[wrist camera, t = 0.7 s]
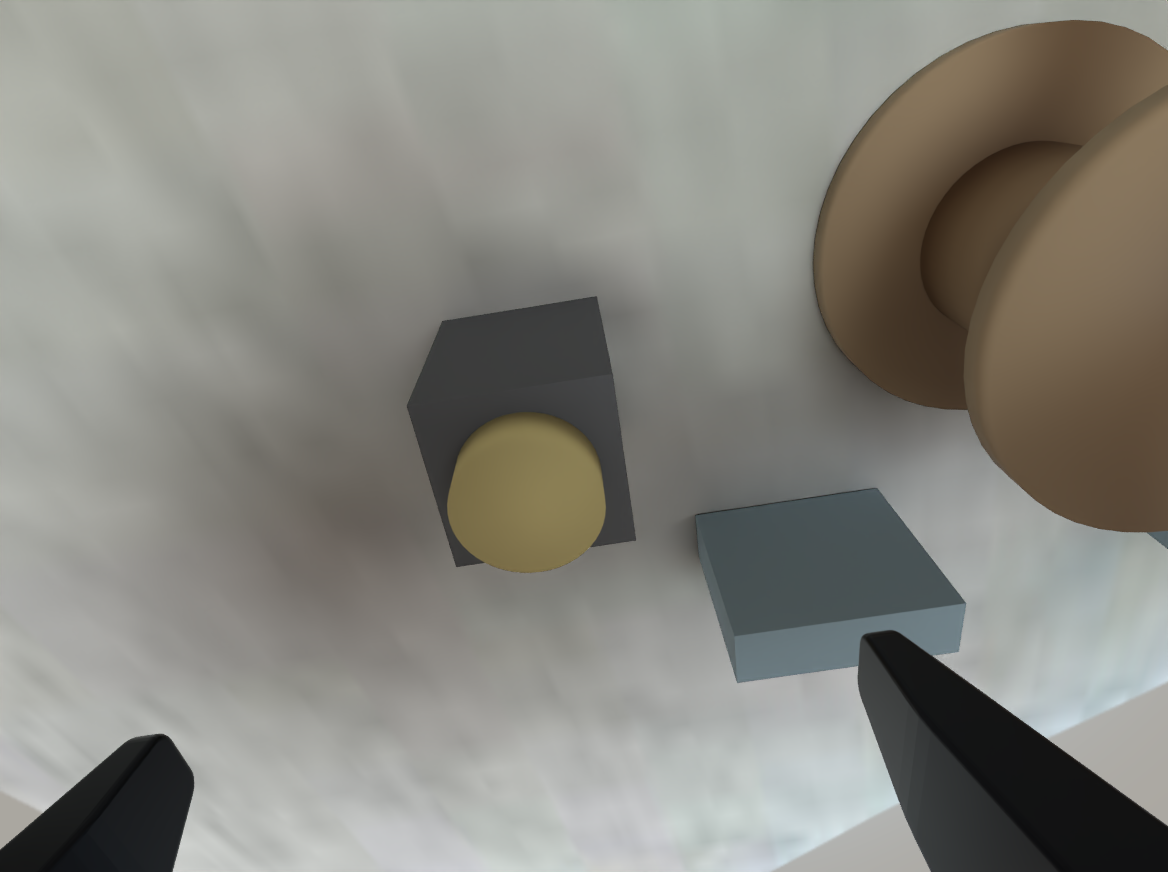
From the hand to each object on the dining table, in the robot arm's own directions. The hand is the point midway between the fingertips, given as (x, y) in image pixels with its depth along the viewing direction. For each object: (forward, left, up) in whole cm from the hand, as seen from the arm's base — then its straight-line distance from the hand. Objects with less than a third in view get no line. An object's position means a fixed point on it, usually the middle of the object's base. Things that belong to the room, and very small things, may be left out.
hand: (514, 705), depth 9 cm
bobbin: (-12, -2, -11) cm, 16 cm away
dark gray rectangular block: (0, 0, -11) cm, 11 cm away
